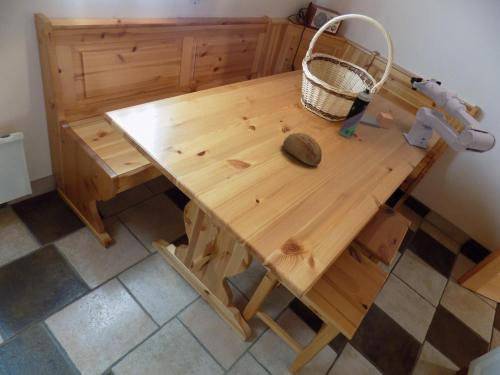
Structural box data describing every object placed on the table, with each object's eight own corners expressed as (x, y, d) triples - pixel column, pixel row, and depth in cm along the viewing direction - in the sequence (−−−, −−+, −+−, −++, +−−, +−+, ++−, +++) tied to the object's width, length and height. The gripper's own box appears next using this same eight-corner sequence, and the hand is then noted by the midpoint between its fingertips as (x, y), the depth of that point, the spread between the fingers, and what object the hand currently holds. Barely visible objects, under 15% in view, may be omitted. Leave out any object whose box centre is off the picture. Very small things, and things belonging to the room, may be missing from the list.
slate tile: (379, 128, 146) (380, 125, 146) (359, 123, 145) (360, 120, 144) (373, 117, 154) (374, 115, 153) (354, 112, 153) (355, 110, 152)
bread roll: (309, 173, 104) (318, 153, 99) (274, 149, 110) (281, 129, 105) (323, 164, 111) (332, 145, 106) (290, 142, 117) (297, 123, 112)
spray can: (337, 133, 131) (359, 88, 119) (340, 128, 136) (362, 84, 123) (349, 139, 130) (373, 94, 118) (352, 134, 134) (376, 90, 122)
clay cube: (387, 129, 148) (393, 119, 145) (378, 126, 148) (383, 117, 145) (384, 123, 152) (389, 114, 149) (374, 121, 152) (380, 112, 148)
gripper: (454, 85, 136) (437, 74, 147) (424, 79, 133) (409, 69, 144) (445, 100, 140) (429, 89, 151) (416, 95, 138) (402, 84, 148)
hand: (419, 80), depth 148 cm, fingers open, 7 cm apart
